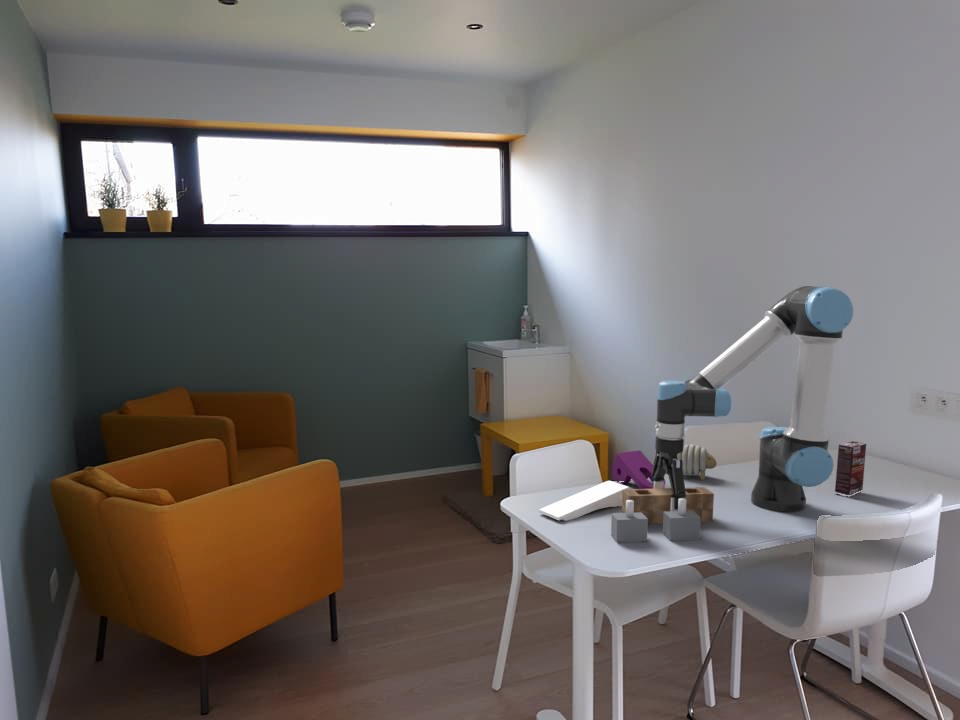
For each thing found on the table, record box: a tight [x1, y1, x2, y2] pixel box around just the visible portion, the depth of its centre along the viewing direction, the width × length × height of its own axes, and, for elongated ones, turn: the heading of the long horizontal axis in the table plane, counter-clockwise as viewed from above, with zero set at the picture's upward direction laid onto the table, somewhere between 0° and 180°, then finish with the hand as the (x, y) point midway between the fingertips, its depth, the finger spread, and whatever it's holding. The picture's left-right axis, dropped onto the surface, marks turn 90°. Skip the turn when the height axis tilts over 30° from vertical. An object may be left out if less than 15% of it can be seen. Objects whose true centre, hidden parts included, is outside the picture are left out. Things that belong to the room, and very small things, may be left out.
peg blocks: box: [610, 498, 701, 543], centre depth 187 cm, size 22×5×10 cm, turn 96°
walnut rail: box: [621, 486, 715, 525], centre depth 200 cm, size 24×6×8 cm, turn 96°
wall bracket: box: [538, 480, 630, 522], centre depth 209 cm, size 10×7×28 cm
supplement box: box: [834, 440, 867, 495], centre depth 223 cm, size 9×5×16 cm, turn 126°
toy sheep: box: [677, 443, 717, 481], centre depth 242 cm, size 11×17×11 cm, turn 70°
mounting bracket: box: [611, 450, 666, 489], centre depth 233 cm, size 10×8×18 cm
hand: (666, 511), depth 201 cm, fingers open, 13 cm apart
